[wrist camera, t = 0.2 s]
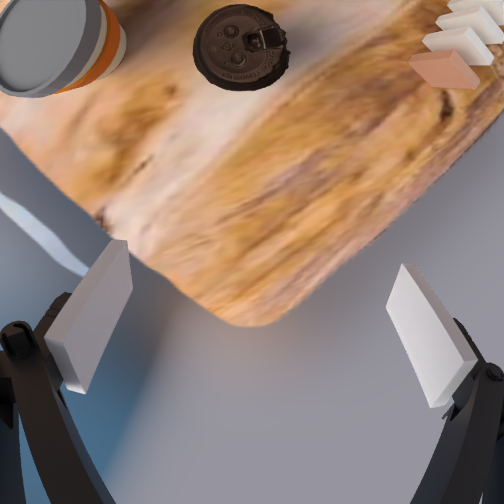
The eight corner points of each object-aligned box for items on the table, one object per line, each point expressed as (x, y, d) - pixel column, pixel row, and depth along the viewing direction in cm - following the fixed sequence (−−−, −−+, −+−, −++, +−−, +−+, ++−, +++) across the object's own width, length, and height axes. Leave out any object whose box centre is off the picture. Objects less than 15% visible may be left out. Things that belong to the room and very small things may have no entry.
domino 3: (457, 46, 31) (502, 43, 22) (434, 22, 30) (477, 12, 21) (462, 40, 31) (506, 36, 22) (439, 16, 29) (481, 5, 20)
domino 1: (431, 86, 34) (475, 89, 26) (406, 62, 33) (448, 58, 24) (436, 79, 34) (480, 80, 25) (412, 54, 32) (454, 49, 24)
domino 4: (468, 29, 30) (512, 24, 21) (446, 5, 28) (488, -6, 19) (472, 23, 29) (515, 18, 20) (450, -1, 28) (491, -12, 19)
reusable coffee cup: (152, 8, 29) (108, -31, 16) (126, 99, 35) (69, 103, 21) (69, 6, 27) (5, -17, 14) (48, 90, 33) (-24, 99, 19)
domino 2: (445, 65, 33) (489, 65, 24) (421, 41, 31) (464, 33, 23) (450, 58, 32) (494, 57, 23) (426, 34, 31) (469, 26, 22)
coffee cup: (289, 49, 33) (312, 27, 21) (259, 106, 36) (268, 108, 25) (224, 21, 31) (216, -14, 19) (194, 78, 34) (172, 68, 23)
